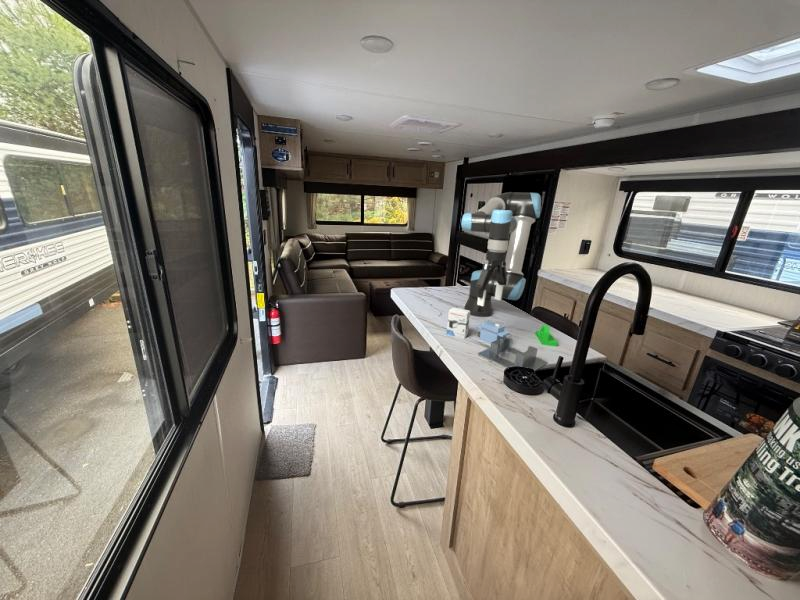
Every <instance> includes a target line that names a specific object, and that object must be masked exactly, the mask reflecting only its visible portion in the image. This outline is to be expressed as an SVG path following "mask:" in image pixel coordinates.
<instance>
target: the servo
mask: <svg viewBox="0 0 800 600" xmlns="http://www.w3.org/2000/svg"><path fill="white" fill-rule="evenodd" d="M476 328H479V329H480V331H478V332H477V336H478V337H479V340H480V341H482V342H484V343H487V344H489V345H491V342H493V341H496V340H497V341H499V342H500V339H501V338H503V337H508V336H509V335H510V332H509V331H506V330H505V328H506V326H505V325H503V324H500V323H497V322H494V321H491V320H485V321H483V322H481V323H479V324H477V325H476ZM499 344H500V343H499Z"/></svg>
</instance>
